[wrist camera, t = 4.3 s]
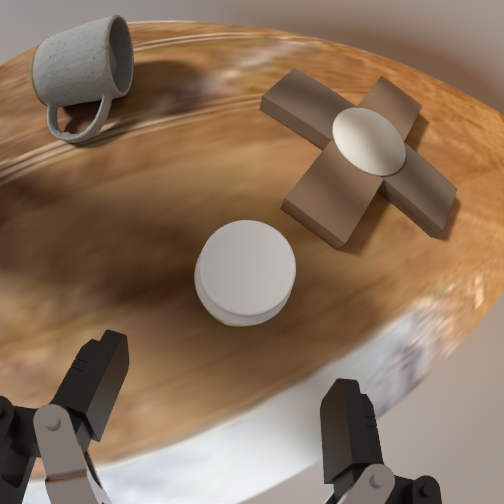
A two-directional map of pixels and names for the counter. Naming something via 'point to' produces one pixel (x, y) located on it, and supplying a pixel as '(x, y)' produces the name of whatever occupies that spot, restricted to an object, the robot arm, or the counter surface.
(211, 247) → the supplement bottle
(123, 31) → the ceramic mug
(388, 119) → the walnut cross joint
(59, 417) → the robot arm
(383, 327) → the counter surface
